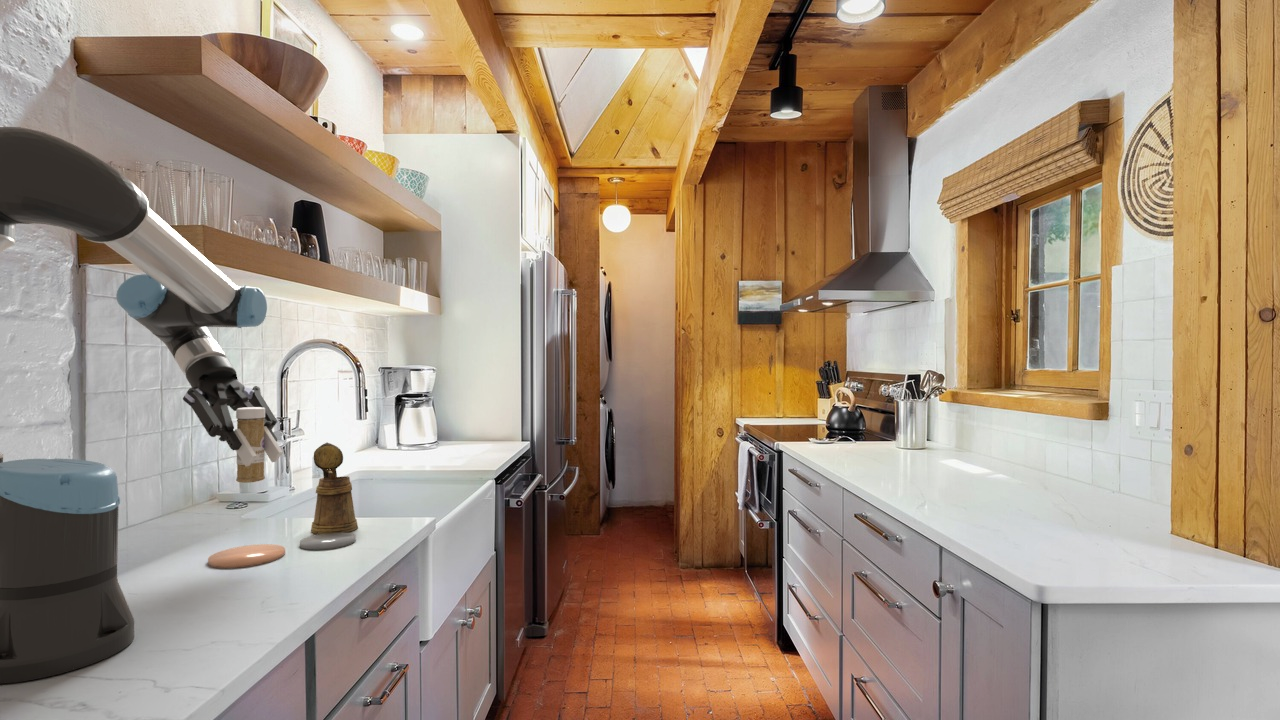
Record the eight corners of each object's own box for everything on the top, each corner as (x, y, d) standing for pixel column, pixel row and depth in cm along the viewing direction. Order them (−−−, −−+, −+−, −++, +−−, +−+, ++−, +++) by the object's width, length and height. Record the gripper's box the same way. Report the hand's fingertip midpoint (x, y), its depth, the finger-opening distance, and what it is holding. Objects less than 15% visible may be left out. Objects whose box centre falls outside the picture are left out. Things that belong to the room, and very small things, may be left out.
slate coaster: (309, 553, 118) (309, 549, 119) (292, 542, 126) (292, 538, 126) (363, 542, 126) (363, 538, 126) (344, 533, 133) (344, 529, 133)
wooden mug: (347, 518, 146) (348, 440, 146) (362, 531, 135) (362, 446, 135) (304, 524, 140) (305, 443, 141) (315, 537, 130) (316, 450, 130)
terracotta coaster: (216, 572, 107) (216, 568, 107) (201, 557, 116) (201, 553, 116) (293, 557, 116) (293, 553, 116) (274, 544, 124) (274, 540, 124)
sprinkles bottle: (265, 481, 115) (265, 407, 115) (235, 484, 113) (236, 408, 113) (264, 477, 119) (264, 406, 119) (235, 480, 116) (236, 407, 116)
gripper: (242, 380, 130) (297, 465, 123) (147, 382, 114) (205, 480, 107) (259, 354, 128) (316, 439, 121) (165, 352, 112) (225, 451, 105)
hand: (264, 458), depth 114 cm, fingers closed on sprinkles bottle, 4 cm apart
